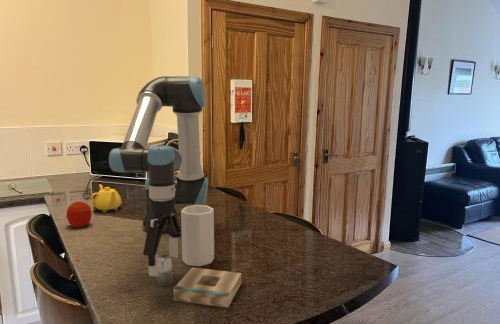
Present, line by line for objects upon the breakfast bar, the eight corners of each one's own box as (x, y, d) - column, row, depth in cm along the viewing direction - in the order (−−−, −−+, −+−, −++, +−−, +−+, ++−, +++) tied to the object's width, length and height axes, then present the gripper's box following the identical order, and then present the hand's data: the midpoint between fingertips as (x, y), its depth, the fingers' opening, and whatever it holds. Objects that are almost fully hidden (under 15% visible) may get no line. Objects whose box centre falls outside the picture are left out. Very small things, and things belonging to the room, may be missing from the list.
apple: (96, 225, 168) (94, 200, 166) (73, 231, 161) (71, 205, 159) (86, 220, 175) (84, 196, 173) (63, 225, 168) (61, 200, 166)
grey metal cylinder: (154, 285, 117) (153, 260, 115) (161, 277, 121) (160, 254, 119) (168, 286, 115) (167, 262, 114) (175, 279, 120) (174, 255, 118)
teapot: (84, 207, 195) (83, 186, 193) (113, 202, 204) (112, 181, 202) (98, 217, 180) (96, 193, 178) (128, 211, 189) (127, 189, 187)
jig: (173, 300, 108) (173, 287, 107) (192, 277, 121) (192, 266, 121) (227, 307, 104) (227, 295, 104) (241, 283, 118) (241, 272, 117)
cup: (200, 269, 127) (199, 216, 124) (175, 261, 133) (174, 210, 130) (220, 257, 136) (220, 207, 133) (196, 251, 142) (195, 203, 139)
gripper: (153, 210, 101) (156, 285, 104) (190, 189, 125) (191, 251, 128) (128, 208, 102) (131, 282, 106) (169, 188, 126) (170, 249, 130)
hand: (164, 265), depth 117 cm, fingers open, 13 cm apart
